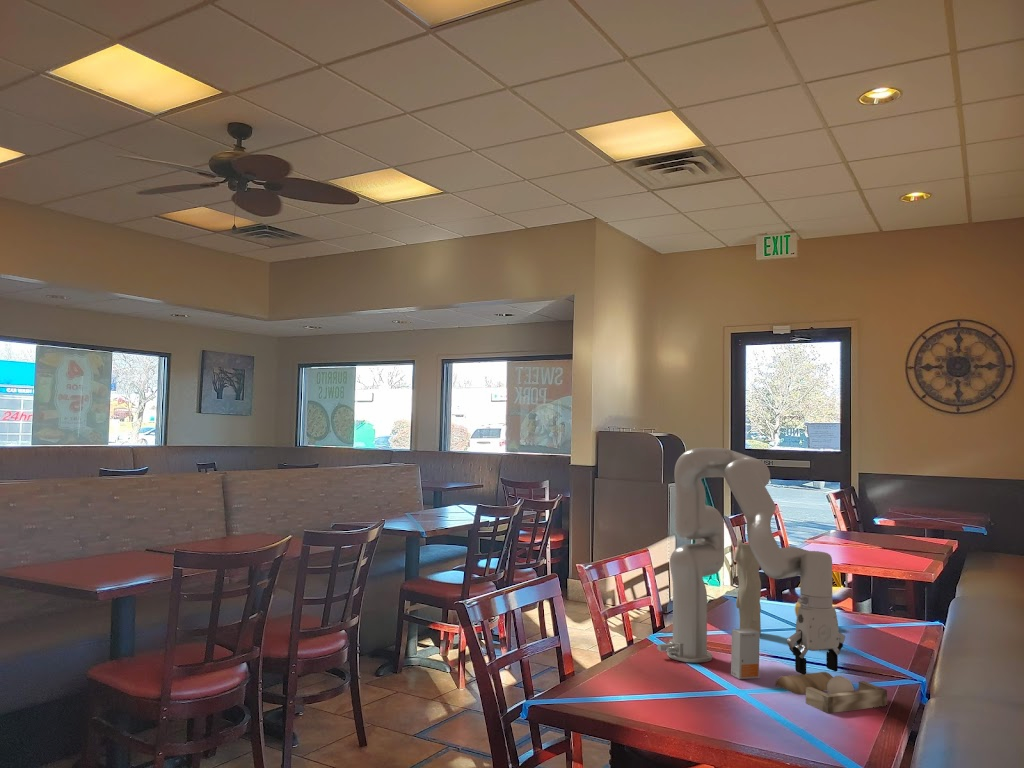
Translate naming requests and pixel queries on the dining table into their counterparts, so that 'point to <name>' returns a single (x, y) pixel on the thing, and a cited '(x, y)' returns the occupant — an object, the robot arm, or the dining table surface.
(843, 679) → the ball
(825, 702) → the rail
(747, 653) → the skincare box
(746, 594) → the vase
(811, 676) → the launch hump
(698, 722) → the dining table surface
